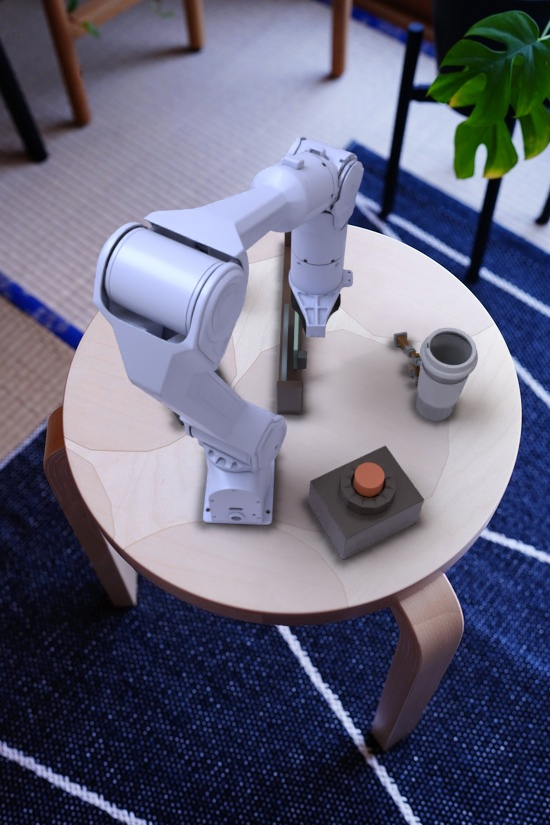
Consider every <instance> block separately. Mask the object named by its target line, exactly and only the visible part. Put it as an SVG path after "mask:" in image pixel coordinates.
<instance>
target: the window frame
mask: <svg viewBox="0 0 550 825" xmlns="http://www.w3.org/2000/svg"><path fill="white" fill-rule="evenodd" d="M291 235H292V231H290V232H286V233H283V237H284V241H283V242H284V243H283V246H284V247H283V248H284V249H283V265H282V266H283V268H282V269H283V270H282V290H281V308H280V309H281V312H280V313H281V314H280V331H279V332H280V333H279V334H280V335H279V355H278V356H279V357H278V378H277V380H276V415H282V416H283V415H286V416H287V415H288V416H301V414H302V390H303V388H302V386H303V382H302V380H303V378H302V371H303V369H293V362H294V328H295V310H293V309H292V306H291V302H290V301H291V287H290V284H289V271H290V269H291ZM303 333H304V330H303V327H302V323H301V319H300V317H299V324H298V351H303V338H304V337H303V335H304V334H303Z"/></svg>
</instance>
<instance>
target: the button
mask: <svg viewBox="0 0 550 825" xmlns="http://www.w3.org/2000/svg"><path fill="white" fill-rule="evenodd" d="M384 478H385V475H384V471H383V470H382V468H381V467H380V466H379V465H377V464H375V463H370V462H368V463H363V464H361V465H360V466H358V467H357V469H356V471H355V475H354V482H353V485H354V488H355V490H356V491H357V492H358V493H359V494H360V495H362V496H365V497H373V496H375V495H377V494H379V493H380V491H381V490H382V487H383V483H384Z"/></svg>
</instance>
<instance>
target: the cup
mask: <svg viewBox="0 0 550 825" xmlns="http://www.w3.org/2000/svg"><path fill="white" fill-rule="evenodd" d="M419 354H420V357H421V366H420V373H419V380H418V386H416V390H417V394H416V400H415V408H416V410H417V412H418V414H419V415H420V416H421V417H422V418H424V419H426V420H427V421H431V422H441V421H444V420H446V419H448V417H449V416H451V414H452V412H453V410H454V407H455V405H456V403H457V402H458V401H459V399H460V397H461V395H462V392H463V390H464V387H465V385H466V383H467V381H468V378H469V376H470V375H471V373H473V372H474V370H475V369H476V367H477V365H478V361H479V354H478V350H477V345H476V343H475V340H474V339H473V337H471V336H470V335H469V334H468V333H467V332H466V331H464V330H461V329H459V328H455V327H441V328H438V329H436V330H434V331H432V332H431V333H430V334H429V335H427V337H425V339H424V340H423V341H422V343H421V345H420V350H419Z"/></svg>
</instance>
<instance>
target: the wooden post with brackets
mask: <svg viewBox="0 0 550 825" xmlns="http://www.w3.org/2000/svg"><path fill="white" fill-rule="evenodd" d="M393 346H394V347H400V348H401V349H402V350H403V351H404V353H405V354H406V356H407V358H408V359H411V362H412V363H413V364H410V365H407V366H406V367H407V370H406V371H407V373H408V374H409V377H413V380H414V381H413V382H414V386H415V387H418V380H419V373H420V367H421V357H420V352H417V349H415V348H416V347H414V346H413V344H410V342H409V341H408V332H407V331H402V332H401V331H400V332H396V333H393Z"/></svg>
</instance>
